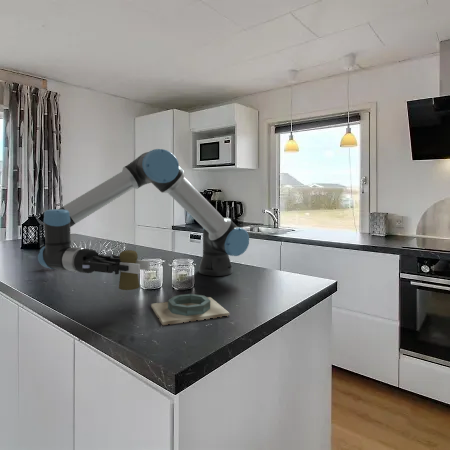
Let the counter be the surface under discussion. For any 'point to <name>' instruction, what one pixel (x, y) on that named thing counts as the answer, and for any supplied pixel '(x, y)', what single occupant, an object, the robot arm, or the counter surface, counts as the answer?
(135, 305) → the counter surface
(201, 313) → the ring stand
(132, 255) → the cork
